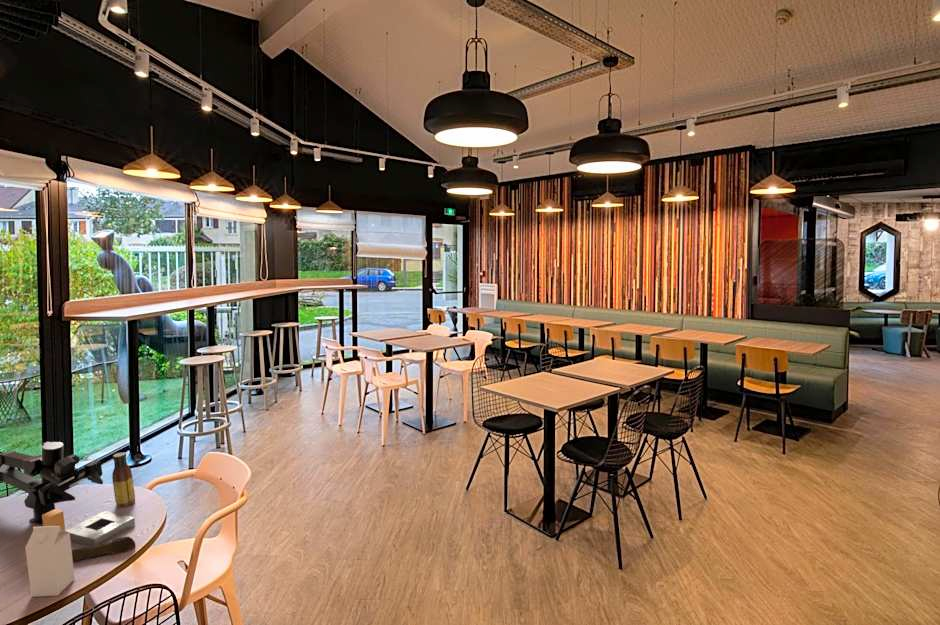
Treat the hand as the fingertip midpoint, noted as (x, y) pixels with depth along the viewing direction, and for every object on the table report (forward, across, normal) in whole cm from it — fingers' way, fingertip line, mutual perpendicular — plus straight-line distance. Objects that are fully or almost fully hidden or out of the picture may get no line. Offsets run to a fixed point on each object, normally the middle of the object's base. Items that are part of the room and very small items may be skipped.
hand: (88, 490), depth 174 cm
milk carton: (+21, -25, +8) cm, 33 cm away
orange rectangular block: (-8, -8, +16) cm, 20 cm away
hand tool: (+17, -9, +12) cm, 22 cm away
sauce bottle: (-6, +15, +20) cm, 25 cm away
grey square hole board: (+5, -1, +15) cm, 16 cm away
